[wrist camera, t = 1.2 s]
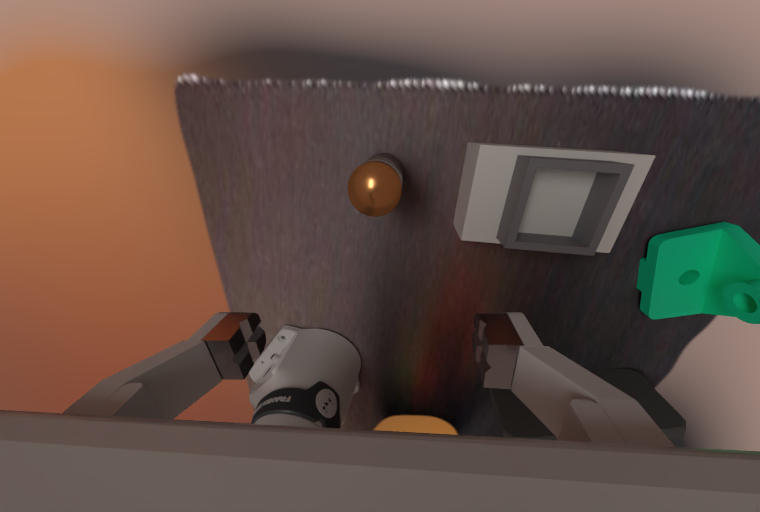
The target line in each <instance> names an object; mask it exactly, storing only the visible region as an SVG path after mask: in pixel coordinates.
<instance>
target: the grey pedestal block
mask: <svg viewBox="0 0 760 512" xmlns="http://www.w3.org/2000/svg"><path fill="white" fill-rule="evenodd" d="M654 158H655V156H654V155H645V154H635V153H626V152H616V151H603V150H587V149H572V148H556V147H540V146H524V145H508V144H492V143H476V142H468V145H467V150H466V156H465V161H464V166H463V172H462V177H461V183H460V188H459V194H458V199H457V205H456V210H455V216H454V221H453V224H454V226H455V228H456V231H457V233H458V235H459V237H460V239H461V240H464V241H475V242H487V243H499V244H502V245H503V246H504V248H509V249H520V250H532V251H543V252H555V253H566V254H578V255H589V256H594V255H595V253H596V252H604V253H610V251H611V249H612V247H613V245H614V243H615V241H616V238H617V236H618V234H619V232H620V230H621V228H622V226H623V224H624V222H625V219H626V217H627V215H628V213H629V211H630V209H631V207H632V205H633V203H634V200H635V198H636V196H637V194H638V192H639V190H640V188H641V186H642V184H643V181H644V179H645V177H646V175H647V173H648V171H649V169H650V167H651V165H652V162H653V160H654Z"/></svg>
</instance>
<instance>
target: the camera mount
mask: <svg viewBox="0 0 760 512" xmlns="http://www.w3.org/2000/svg"><path fill="white" fill-rule="evenodd" d="M637 289H638V290H640V291H641V292H642V294H641V302H640V310H641V311H642V312H643V313H645V314H646V315H647V316H648V317H650V318H651V319H662V318H669V317H677V316H684V315H692V314H699V313H705V314H714V315H723V316H732V317H737V318H738V319H740V320H742V321H745V322H748V323H752V324H760V245H759V244H758V243H757V242H756V241H755V240H753V239H752V238H751V237H750V236H749V235H748V234H747V233H746V232H745V231H744V230H743V229H742V228H741V227H740V226H737V225H734V224H730V223H727V222H721V223H716V224H710V225H705V226H700V227H695V228H689V229H684V230H679V231H674V232H668V233H663V234H658V235H656V236H654V237H653V238H651V240H650V241H649V243H648V251H647V257H646V258H640V266H639V273H638V281H637Z"/></svg>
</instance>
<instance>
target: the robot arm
mask: <svg viewBox="0 0 760 512" xmlns="http://www.w3.org/2000/svg"><path fill="white" fill-rule="evenodd" d="M260 323H261V320H260V317H259V315H258V314H256V313H245V312H219V313H216V314H215V315H213V316H212V317H211V318H210V319H209V320H208V321H207V322H206V323H205V324H204V325H203V326H202V327H201V328H200V329H199V330H198V331H197V332H196V333H194V334H193V335H192V336H191V337H190V338H189V339H188V340H187V341H182V342H179V343H177V344H175V345H173V346H171V347H169V348H167V349H165V350H163V351H161V352H159V353H157V354H155V355H153V356H151V357H149V358H147V359H145V360H143V361H141V362H138V363H136V364H134V365H132V366H130V367H128V368H126V369H124V370H122V371H120V372H118V373H116V374H114V375H112V376H110V377H108V378H106V379H104V380H102V381H101V382H99V383H98V384H97V385H96V386H95V387H93V388H92V389H91V390H90V391H88V392H87V393H86V394H85V395H84V396H82V397H81V398H80V399H79V400H77V401H76V402H75V403H74V404H73V405H71V406H70V407H69V408H68V409H66V410H65V411H64V412H63V413H47V412H29V411H28V412H27V411H10V410H0V512H760V452H758V451H757V452H756V451H739V450H721V449H702V448H683V447H675V446H674V445H673V444H672V442H671V441H670V440H669V439H668V438H667V436H666V435H665V434H664V433H663V432H662V430H661V429H660V428H659V427H658V426H657V424H656V423H655V422H654V421H653V420H652V418H651V417H650V416H649V415H648V414H647V412H646V411H645V410H644V409H643V408H642V406H641V405H640V404H639V403H638V402H637V400H635V399H633V398H632V397H630V396H629V395H627V394H625V393H624V392H622V391H620V390H619V389H617V388H616V387H614V386H612V385H611V384H609V383H607V382H606V381H604V380H603V379H601V378H599V377H598V376H596V375H594V374H593V373H591V372H590V371H588V370H586V369H585V368H583V367H581V366H580V365H578V364H577V363H575V362H573V361H572V360H570V359H568V358H567V357H565V356H564V355H562V354H560V353H559V352H557V351H555V350H554V349H552V348H551V347H549V346H543V344H542V343H541V341H540V339H539V338H538V336H537V335H536V333H535V332H534V330H533V328H532V327H531V325H530V324H529V322H528V320H527V319H526V317H525V316H524V314H523V313H521V312H510V313H475V317H474V325H475V328H476V330H475V331H474V332H473V338H472V342H473V352H474V356H475V360H476V361H477V362H479V374H480V377H481V381H482V384H483V387H484V388H500V389H511V391H512V392H513V393H514V394H515V395H516V396H517V397H518V398H519V399H520V400H521V401H522V402H523V403H524V404H525V405H526V406H527V407H528V408H529V409H530V410H531V411H532V412H533V413H534V414H535V415H536V417H537V418H538V419H539V420H540V421H541V422H542V423H543V424H544V425H545V426H546V427H547V428H548V429H549V430H550V431H551V432H552V433H553V434H554V435H555V436H556V437H557V438H558V439H557V440H539V439H521V438H503V437H485V436H467V435H449V434H430V433H412V432H394V431H375V430H357V429H340V426H341V425H343V424H344V422H345V420H346V417H347V413H348V410H349V407H350V404H351V401H352V397H353V394H355V393H357V392H358V391H359V388H360V382H359V378H358V375H359V372H360V368H361V359H360V356H359V353H358V351H357V350H356V348H355V347H354V346H353V345H352V344H351V343H350V342H349V341H348V340H347V339H345V338H344V337H342V336H340V335H339V334H337V333H334V332H331V331H328V330H324V329H300V328H297V327H293V326H289V325H285V326H283V327H282V328H281V329H280V330H279V332H278V333H277V334H276V335H275V337H274V338H273V339H272V341H271V342H270V343H269V345H268V346H267V347H266V348H265V350H264V347H265V344H266V335H265V332H264V330H263V329H262V328H261V327H260V326H259V325H260ZM284 336H285V337H284ZM263 350H264V351H263ZM261 353H262V354H261ZM258 356H259V358H258V359H257V360H256V361H255V363H254V361H253V360H254V359H255V358H257V357H258ZM248 373H249V374H250V376H251V378H252V380H253V381H254V382H255V385H254V387H253V389H252V390H251V392H250V394H249V400H250V402H251V404H252V406H253V407H254V409H255V411H254V413H253V419H252V422H251V424H250V423H230V422H229V423H228V422H211V421H193V420H174V418H175V417H176V416H178V415H179V414H180V413H182V412H183V411H184V410H185V409H187V408H188V407H189V406H191V405H192V404H193V403H194V402H196V401H197V400H198V399H199V398H201V397H202V396H203V395H205V394H206V393H207V392H208V391H210V390H211V389H212V388H213V387H215V386H216V385H217V384H218V383H220V382H221V381H222V379H245V378H246V376H247V375H248Z"/></svg>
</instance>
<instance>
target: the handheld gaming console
mask: <svg viewBox="0 0 760 512" xmlns="http://www.w3.org/2000/svg"><path fill="white" fill-rule="evenodd" d="M590 372H591V373H593V374H594V375H596V376H598V377H599V378H601V379H603V380H604V381H606V382H607V383H609V384H611V385H612V386H614V387H616V388H617V389H619V390H620V391H622V392H624V393H625V394H627V395H629V396H630V397H632V398H633V399H635V400H637V402H638V403H639V404H640V405H641V406H642V408H643V409H644V410H645V411H646V412H647V414H648V415H649V416H650V417H651V418H652V420H653V421H654V422H655V423H656V424H657V426H658V427H659V428H660V429H661V430H662V432H663V433H664V434H665V435H666V436H667V438H668V439H669V440H670V439H676V438H681V437H684V434H685V430H686V421H685V420H684V419H683V417H682V416H681V415H680V414H679V413H678V412H677V411H676V410H675V409H674V408H673V407H672V406H671V405H670V404H669V403H668V402H667V401H666V400H665V399H664V398H663V397H662V396H661V395H660V394H659V393H658V392H657V391H656V390H655V389H654V388H653V387H652V386H651V384H650V383H649V382H648V381H647V380H646V379H645V378H644V377H643V376H642V374H640V373H638V372H636V371H634V370H631V369H629V368H619V369H606V370H597V371H590ZM489 391H490V396H491V399H492V403H493V406H494V409H495V412H496V415H497V418H498V421H499V425H500V428H501V431H502V434H503V438H521V439H539V440H557V439H558V438H557V437H556V436H555V435H554V434H553V433H552V432H551V431H550V430H549V429H548V428H547V427H546V426H545V425H544V424H543V423H542V422H541V421H540V420H539V419H538V418H537V417H536V415H535V414H534V413H533V412H532V411H531V410H530V409H529V408H528V407H527V406H526V405H525V404H524V403H523V402H522V401H521V400H520V399H519V398H518V397H517V396H516V395H515V394H514V393H513V392H512V391H511V389H500V388H489Z"/></svg>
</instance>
